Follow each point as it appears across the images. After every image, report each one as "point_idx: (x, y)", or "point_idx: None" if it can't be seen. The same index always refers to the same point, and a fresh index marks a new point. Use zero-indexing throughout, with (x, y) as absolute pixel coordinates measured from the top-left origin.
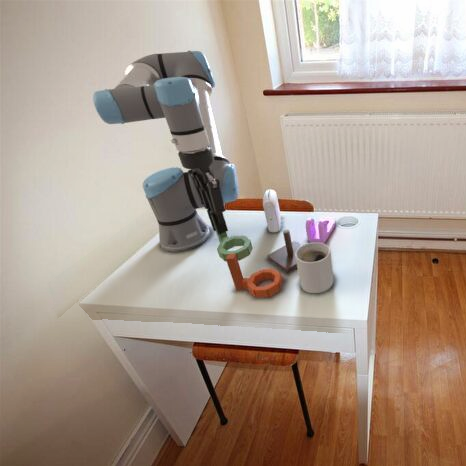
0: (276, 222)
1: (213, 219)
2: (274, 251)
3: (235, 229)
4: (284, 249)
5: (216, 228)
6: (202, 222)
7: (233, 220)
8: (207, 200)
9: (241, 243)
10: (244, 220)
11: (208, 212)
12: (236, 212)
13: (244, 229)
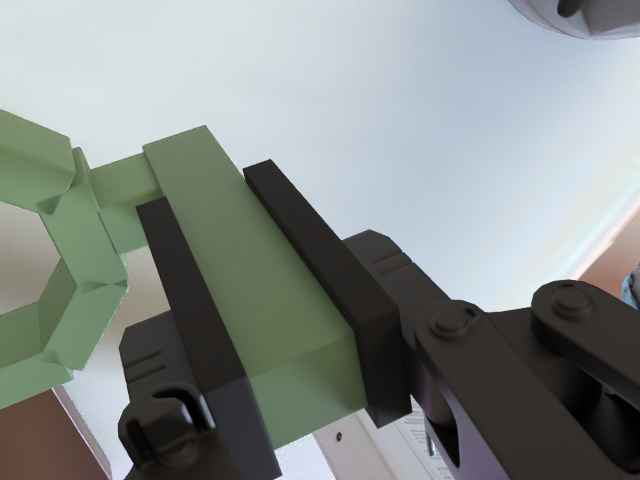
0: (320, 436)
1: (198, 316)
2: (49, 389)
3: (480, 182)
4: (41, 440)
5: (167, 237)
6: (633, 27)
7: (571, 183)
8: (484, 473)
9: (42, 308)
10: (525, 238)
11: (347, 310)
12: (625, 208)
13: (443, 229)
